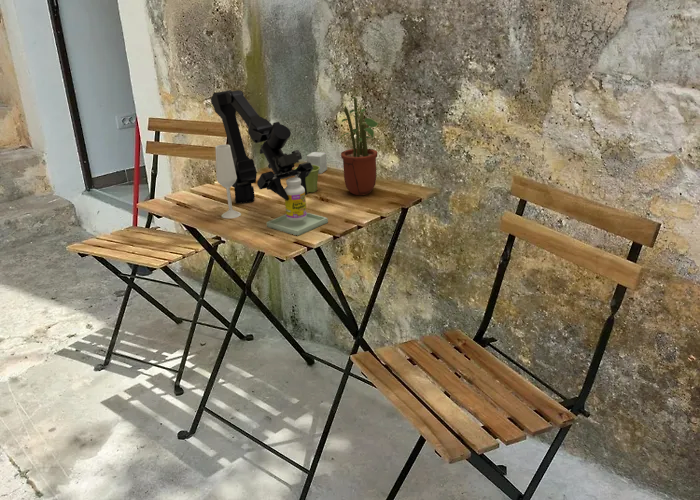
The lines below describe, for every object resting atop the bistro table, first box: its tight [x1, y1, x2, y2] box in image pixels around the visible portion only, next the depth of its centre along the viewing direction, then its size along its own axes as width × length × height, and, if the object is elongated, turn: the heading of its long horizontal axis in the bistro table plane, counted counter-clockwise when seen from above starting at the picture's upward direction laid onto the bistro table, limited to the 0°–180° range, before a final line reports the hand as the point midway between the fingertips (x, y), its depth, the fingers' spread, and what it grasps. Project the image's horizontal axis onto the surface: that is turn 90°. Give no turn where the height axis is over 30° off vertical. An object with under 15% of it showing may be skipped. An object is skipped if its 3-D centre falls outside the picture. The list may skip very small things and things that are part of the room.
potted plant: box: [334, 96, 379, 196], centre depth 235 cm, size 17×16×35 cm
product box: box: [306, 151, 328, 175], centre depth 266 cm, size 6×6×7 cm
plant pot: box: [294, 165, 320, 194], centre depth 243 cm, size 9×9×9 cm
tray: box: [266, 212, 329, 237], centre depth 212 cm, size 14×14×2 cm
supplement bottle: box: [284, 176, 308, 221], centre depth 209 cm, size 7×7×13 cm
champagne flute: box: [214, 144, 242, 219], centre depth 219 cm, size 7×7×24 cm
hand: (297, 197), depth 208 cm, fingers closed on supplement bottle, 7 cm apart
